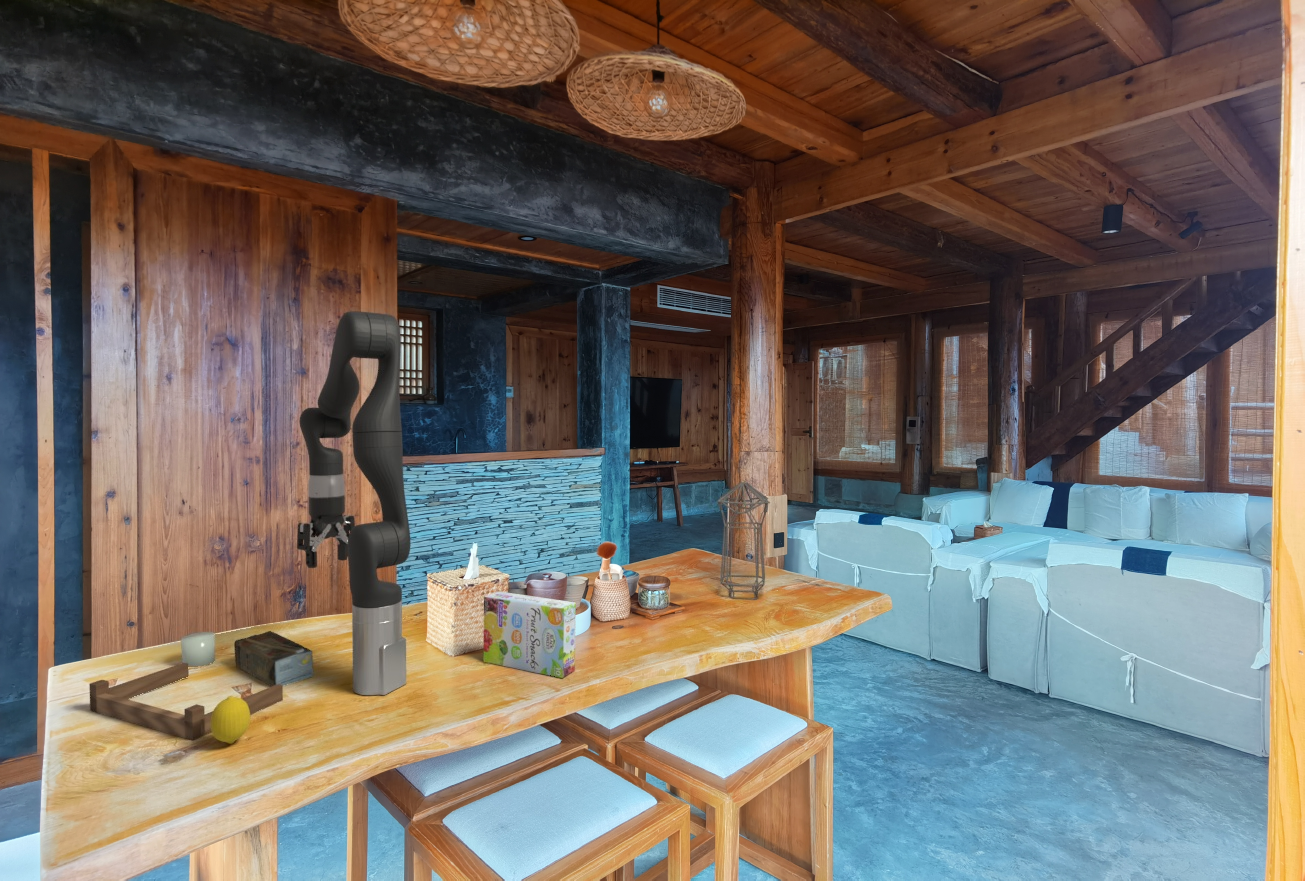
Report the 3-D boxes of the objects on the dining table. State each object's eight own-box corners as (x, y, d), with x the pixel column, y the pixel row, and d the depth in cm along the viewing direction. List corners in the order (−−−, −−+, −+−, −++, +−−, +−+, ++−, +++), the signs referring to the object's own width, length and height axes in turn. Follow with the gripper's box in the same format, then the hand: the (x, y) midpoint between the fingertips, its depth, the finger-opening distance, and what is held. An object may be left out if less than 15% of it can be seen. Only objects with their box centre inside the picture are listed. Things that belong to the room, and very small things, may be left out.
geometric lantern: (716, 601, 195) (716, 483, 194) (719, 588, 210) (719, 479, 210) (770, 603, 192) (770, 484, 192) (769, 590, 208) (769, 480, 207)
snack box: (576, 670, 141) (577, 601, 141) (562, 679, 136) (562, 608, 136) (497, 654, 150) (497, 589, 150) (481, 662, 145) (481, 595, 145)
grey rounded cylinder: (221, 660, 145) (221, 634, 145) (193, 670, 139) (193, 642, 139) (203, 656, 147) (202, 630, 147) (175, 666, 142) (174, 638, 141)
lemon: (221, 755, 105) (220, 706, 105) (204, 745, 108) (203, 698, 108) (257, 741, 110) (256, 694, 109) (240, 732, 113) (239, 686, 112)
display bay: (282, 700, 125) (282, 674, 125) (192, 740, 110) (192, 711, 110) (184, 676, 136) (184, 652, 136) (90, 710, 120) (89, 683, 120)
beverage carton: (274, 690, 130) (273, 658, 130) (232, 668, 141) (232, 638, 141) (314, 677, 137) (314, 646, 136) (271, 657, 148) (271, 628, 148)
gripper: (312, 498, 143) (314, 572, 144) (363, 491, 156) (364, 558, 157) (287, 496, 146) (288, 569, 146) (339, 490, 159) (340, 556, 160)
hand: (327, 563), depth 152 cm, fingers open, 8 cm apart
